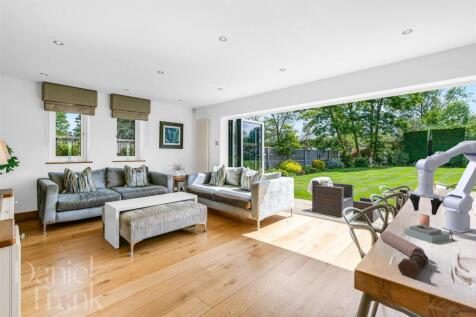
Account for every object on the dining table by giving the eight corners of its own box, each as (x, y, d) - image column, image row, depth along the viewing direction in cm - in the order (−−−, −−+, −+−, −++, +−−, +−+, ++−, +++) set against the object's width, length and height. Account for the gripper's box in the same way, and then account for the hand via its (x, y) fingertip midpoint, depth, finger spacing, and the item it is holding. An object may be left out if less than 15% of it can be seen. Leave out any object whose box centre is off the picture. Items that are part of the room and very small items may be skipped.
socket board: (421, 230, 110) (421, 222, 110) (449, 239, 100) (449, 229, 100) (404, 234, 106) (404, 225, 106) (431, 243, 95) (432, 233, 95)
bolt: (424, 268, 79) (410, 283, 69) (409, 256, 82) (394, 268, 73) (436, 256, 76) (423, 270, 67) (420, 244, 80) (405, 256, 70)
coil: (379, 230, 98) (412, 248, 80) (390, 229, 98) (425, 247, 80) (380, 241, 98) (413, 262, 80) (391, 240, 98) (426, 260, 80)
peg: (422, 228, 114) (423, 214, 114) (431, 230, 110) (431, 216, 110) (418, 229, 112) (418, 214, 112) (426, 231, 109) (426, 216, 109)
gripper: (404, 182, 116) (403, 209, 117) (438, 187, 103) (437, 217, 103) (413, 182, 119) (413, 208, 119) (447, 186, 105) (446, 215, 105)
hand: (424, 212), depth 111 cm, fingers open, 7 cm apart
